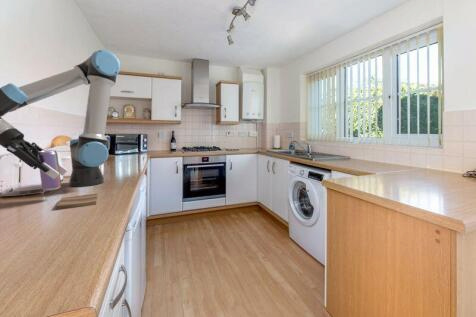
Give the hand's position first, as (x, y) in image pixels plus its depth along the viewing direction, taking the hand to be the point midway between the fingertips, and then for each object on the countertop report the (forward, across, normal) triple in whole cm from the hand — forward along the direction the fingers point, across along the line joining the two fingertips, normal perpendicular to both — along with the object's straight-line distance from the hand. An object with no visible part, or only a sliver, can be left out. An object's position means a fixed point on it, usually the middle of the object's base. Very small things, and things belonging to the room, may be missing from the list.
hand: (60, 174), depth 92 cm
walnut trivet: (+13, +7, -1) cm, 15 cm away
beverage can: (+1, 0, -6) cm, 7 cm away
